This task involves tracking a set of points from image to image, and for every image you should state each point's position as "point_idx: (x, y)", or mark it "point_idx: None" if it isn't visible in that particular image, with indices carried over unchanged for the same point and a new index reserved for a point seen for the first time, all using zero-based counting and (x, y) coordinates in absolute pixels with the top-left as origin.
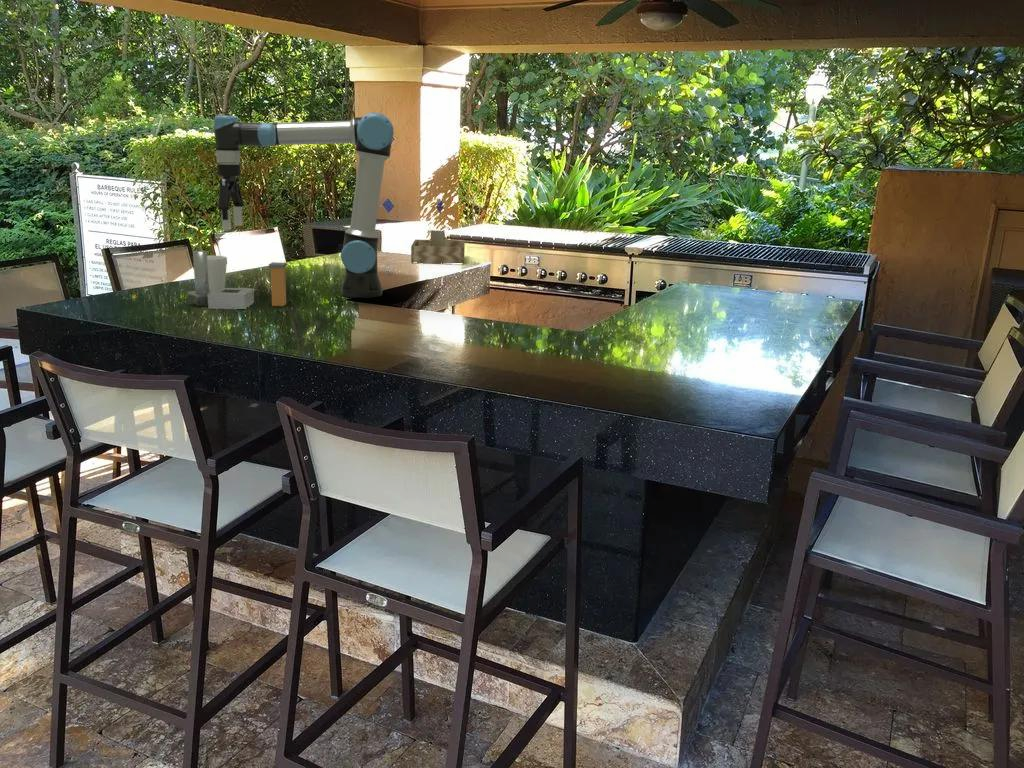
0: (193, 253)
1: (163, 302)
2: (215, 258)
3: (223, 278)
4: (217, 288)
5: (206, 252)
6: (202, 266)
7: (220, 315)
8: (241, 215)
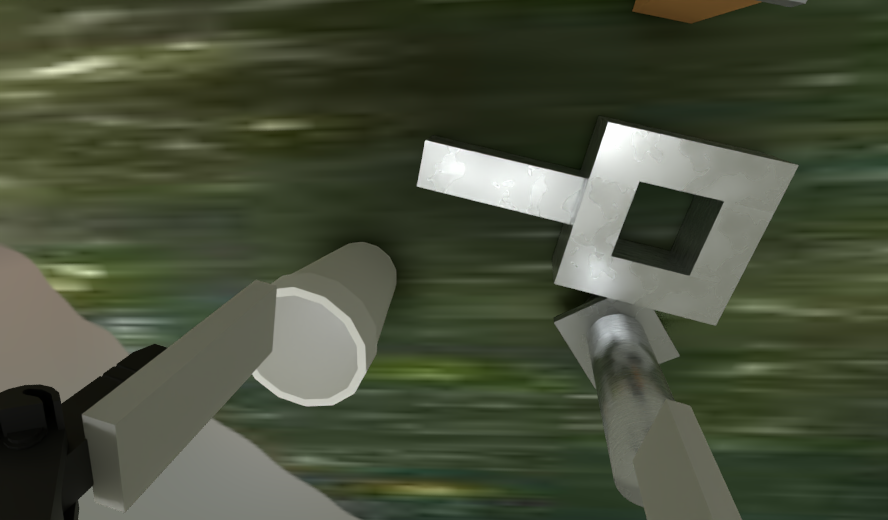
0: None
1: (534, 425)
2: None
3: (360, 265)
4: (579, 286)
5: None
6: None
7: (866, 251)
8: (207, 345)
